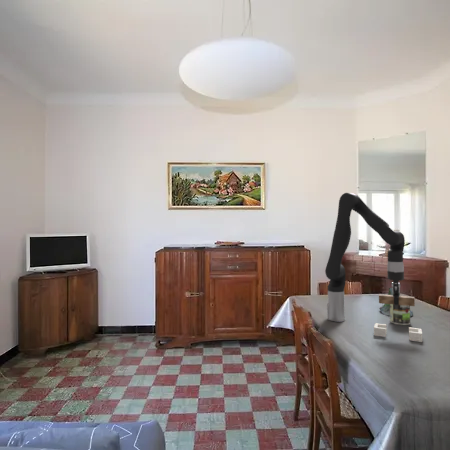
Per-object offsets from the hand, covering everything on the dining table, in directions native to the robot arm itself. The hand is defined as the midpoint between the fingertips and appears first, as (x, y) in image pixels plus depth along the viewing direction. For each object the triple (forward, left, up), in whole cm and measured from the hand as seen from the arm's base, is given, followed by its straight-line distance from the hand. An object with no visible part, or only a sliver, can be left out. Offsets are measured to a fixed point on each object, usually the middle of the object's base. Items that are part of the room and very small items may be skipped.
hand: (396, 303), depth 163 cm
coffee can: (+1, +20, -16) cm, 26 cm away
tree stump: (-1, +40, -16) cm, 43 cm away
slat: (0, 0, 0) cm, 0 cm away
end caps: (0, -5, -15) cm, 16 cm away
